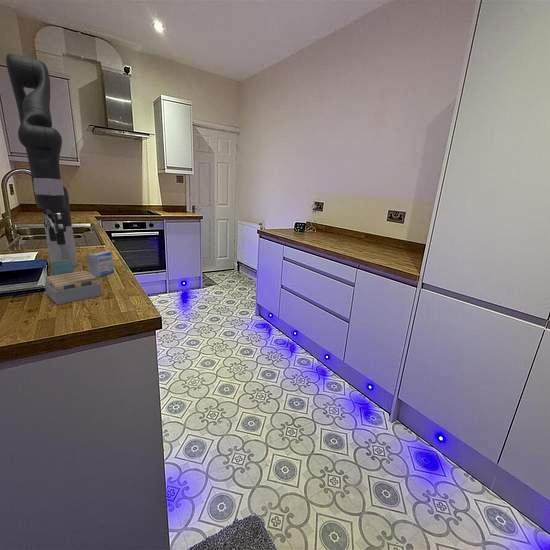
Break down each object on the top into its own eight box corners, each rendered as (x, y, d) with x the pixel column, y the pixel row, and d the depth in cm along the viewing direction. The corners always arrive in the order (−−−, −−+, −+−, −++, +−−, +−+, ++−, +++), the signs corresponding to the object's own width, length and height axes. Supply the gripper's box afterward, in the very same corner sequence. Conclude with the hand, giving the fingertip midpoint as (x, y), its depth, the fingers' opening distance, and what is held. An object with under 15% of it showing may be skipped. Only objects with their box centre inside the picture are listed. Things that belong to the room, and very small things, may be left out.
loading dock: (46, 294, 92) (44, 282, 91) (88, 286, 101) (87, 275, 100) (57, 304, 84) (55, 292, 83) (101, 295, 93) (100, 283, 92)
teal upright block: (54, 283, 102) (50, 262, 99) (70, 281, 105) (67, 260, 103) (58, 287, 99) (54, 264, 96) (75, 284, 102) (72, 262, 100)
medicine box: (99, 277, 111) (96, 255, 109) (89, 276, 112) (86, 254, 110) (114, 272, 119) (112, 251, 116) (105, 271, 119) (102, 250, 117)
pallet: (46, 282, 91) (45, 276, 90) (86, 276, 99) (85, 270, 98) (56, 291, 84) (55, 284, 83) (98, 283, 92) (97, 277, 92)
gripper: (30, 192, 95) (38, 240, 99) (40, 193, 86) (49, 247, 90) (57, 193, 100) (64, 239, 105) (70, 194, 92) (77, 244, 96)
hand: (57, 242), depth 98 cm, fingers open, 8 cm apart
